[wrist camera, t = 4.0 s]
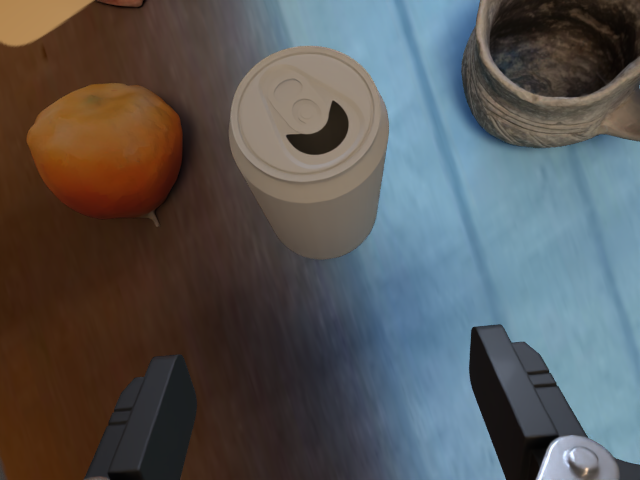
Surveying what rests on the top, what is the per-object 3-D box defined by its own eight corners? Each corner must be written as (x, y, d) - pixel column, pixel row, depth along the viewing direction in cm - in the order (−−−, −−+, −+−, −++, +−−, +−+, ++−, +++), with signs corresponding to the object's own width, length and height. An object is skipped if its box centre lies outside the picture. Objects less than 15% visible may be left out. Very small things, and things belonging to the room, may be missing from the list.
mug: (508, 5, 33) (574, -148, 23) (682, 111, 30) (839, -12, 20) (419, 109, 31) (449, -8, 21) (594, 230, 29) (719, 158, 19)
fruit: (45, 257, 29) (-26, 138, 23) (98, 175, 34) (51, 63, 29) (182, 261, 28) (142, 140, 22) (212, 176, 34) (187, 63, 28)
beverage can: (314, 284, 29) (288, 226, 17) (249, 203, 30) (186, 100, 19) (398, 218, 29) (428, 120, 18) (331, 142, 31) (319, 6, 19)
